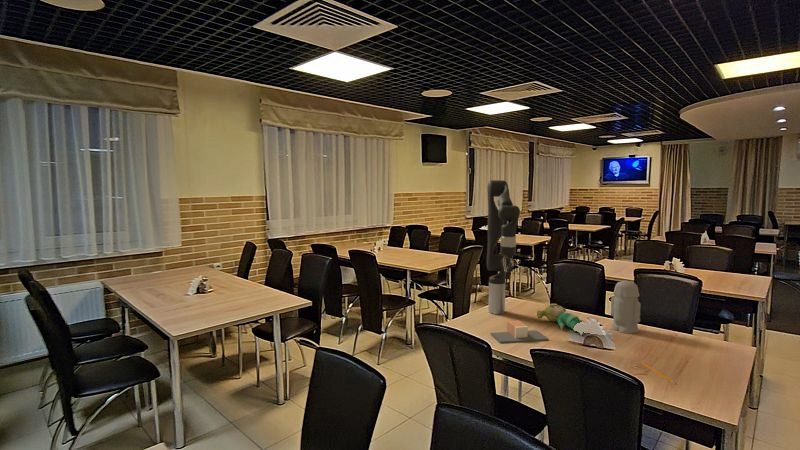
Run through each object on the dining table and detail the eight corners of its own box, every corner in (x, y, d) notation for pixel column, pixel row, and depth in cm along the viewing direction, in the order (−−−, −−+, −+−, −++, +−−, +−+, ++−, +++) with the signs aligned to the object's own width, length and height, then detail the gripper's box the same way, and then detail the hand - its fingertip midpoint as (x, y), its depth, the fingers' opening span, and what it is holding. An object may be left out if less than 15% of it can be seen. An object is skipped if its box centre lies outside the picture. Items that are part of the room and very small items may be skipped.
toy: (577, 325, 203) (533, 300, 229) (574, 344, 205) (531, 317, 231) (602, 320, 210) (557, 297, 236) (598, 339, 212) (554, 313, 238)
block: (507, 320, 210) (515, 327, 200) (518, 320, 211) (527, 326, 201) (506, 330, 210) (515, 337, 201) (518, 330, 211) (527, 337, 202)
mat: (490, 334, 208) (490, 332, 208) (536, 331, 211) (536, 330, 211) (499, 343, 196) (499, 341, 196) (548, 340, 200) (548, 338, 200)
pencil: (674, 384, 155) (674, 383, 155) (639, 363, 174) (639, 361, 174) (676, 384, 155) (676, 383, 155) (641, 363, 175) (641, 361, 174)
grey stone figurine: (604, 327, 218) (606, 279, 215) (615, 324, 223) (617, 277, 221) (633, 336, 206) (636, 285, 203) (644, 331, 211) (647, 282, 209)
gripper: (496, 243, 221) (495, 276, 222) (506, 247, 208) (505, 282, 209) (509, 243, 222) (509, 276, 223) (520, 246, 209) (520, 281, 210)
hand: (507, 279), depth 216 cm, fingers closed
